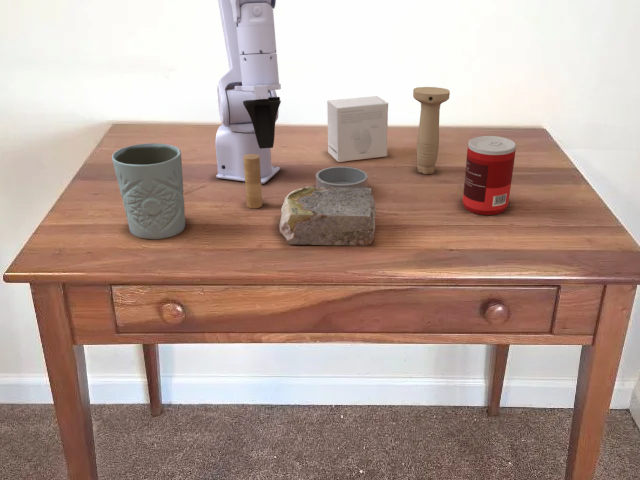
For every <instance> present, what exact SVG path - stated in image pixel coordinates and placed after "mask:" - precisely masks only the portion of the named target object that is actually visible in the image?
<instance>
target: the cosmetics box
mask: <svg viewBox="0 0 640 480" xmlns="http://www.w3.org/2000/svg"><path fill="white" fill-rule="evenodd" d="M326 102H327V104H326V105H327V106H326V107H327V109H326V110H327V152H328V154H329V155H330V156H331V157H332V158H333V159H334V160H335V161H336V162H338V163H344V162H353V161H359V160H367V159H375V158H386V157H388V128H389V127H388V125H389V123H388V121H389V102H387V101H385V100H384V99H383V98H381V97H379V96H377V95H372V96H363V97H351V98H341V99H330V100H329V99H328V100H327V101H326Z"/></svg>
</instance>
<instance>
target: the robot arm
mask: <svg viewBox="0 0 640 480" xmlns="http://www.w3.org/2000/svg"><path fill="white" fill-rule="evenodd" d="M217 2H218V8H219V14H220V15H219V16H220V21H221V27H222V33H223V38H224V45H225V50H226V57H227V63H228V68H229V70H228V71H227V72H226V73H225V74H224V75H223V76H222V77H221V78H219V80H218V83H217V87H216V88H217V89H216V91H217V105H218V113H219V119H220V123H221V125H219V127H218V128H217V129H216V134H215V143H214V144H215V155H216V156H215V157H216V166H217V174H216V175H215V177H216V178H217V179H222V180H223V179H224V180H229V181H237V182H245V173H244V158H243V156H244V155H247V154H257V155H259V156H260V172H261V185H263V184H266V183H267V182H268V181H269V180H271V179H272V178H273V177H274V176H275V175H277V173H278V172H279V171H280V170H281V167H280V166H274V165H273V164H272V162H273V161H272V149H273V148H274V145H275V144H274V143H275V134H276V133H275V132H276V122H277V121H278V119H279V108H280V106H281V102H282V101H281V97H280V96H278V95H277V92H276V91H277V90H281V89H282V84H281V83H280V78H279V77H280V75H279V63H278V53H277V41H276V29H275V17H274V16H275V15H274V9H275V8H276V4H277V0H217Z"/></svg>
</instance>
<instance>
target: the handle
mask: <svg viewBox="0 0 640 480" xmlns="http://www.w3.org/2000/svg"><path fill="white" fill-rule="evenodd" d="M450 94H451V91H450V90H449V89H448V88H444V87H439V86H438V87H437V86H418V87H414V88H413V91H412V97H413V99H414V100H416V101H417V102H418V103H420V116H419V123H418V131H417V139H416V141H417V142H416V161H417V172H418V173H419V174H423V175H428V174H429V175H430V174H431V175H432V174H434V173H435V170H436V164H437V161H438V155H439V147H440V113H441V112H440V109H441V104H443V103H445V102H447V101H448V100H450Z"/></svg>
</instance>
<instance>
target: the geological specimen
mask: <svg viewBox="0 0 640 480" xmlns="http://www.w3.org/2000/svg"><path fill="white" fill-rule="evenodd" d="M375 200H376V199H375V197H374V196H373V189H372V187H367V188H336V187H331V188H330V189H327V188H324V187H320V188H319V189H316V187H314V186H313V185H308V186H305V187H299V188H297V189H295V190H292V191H291V192H289V193H288V194H287V196H285V198H284V201H283V204H282V206H281V209H280V211H281V215H280V221H279V224H278V229H279V233H280V234H281V235H282V236H283V237H284V238H285V240H286V242H287V243H288V245H308V246H309V245H313V246H362V247H363V246H365V247H366V246H371V244H372V242H373V241H374V238H375V237H374V236H375V231H376V215H377V207H376V201H375Z"/></svg>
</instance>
